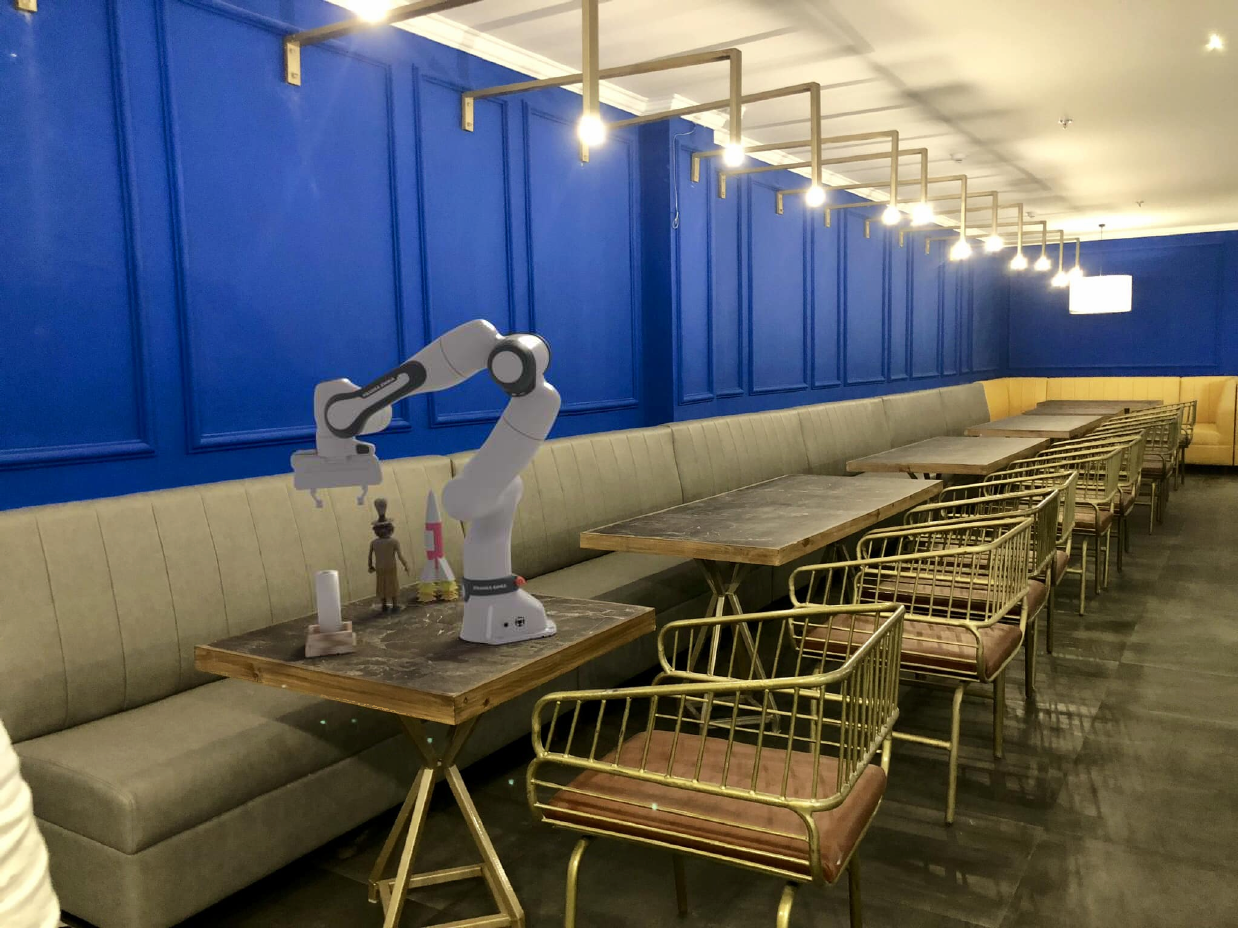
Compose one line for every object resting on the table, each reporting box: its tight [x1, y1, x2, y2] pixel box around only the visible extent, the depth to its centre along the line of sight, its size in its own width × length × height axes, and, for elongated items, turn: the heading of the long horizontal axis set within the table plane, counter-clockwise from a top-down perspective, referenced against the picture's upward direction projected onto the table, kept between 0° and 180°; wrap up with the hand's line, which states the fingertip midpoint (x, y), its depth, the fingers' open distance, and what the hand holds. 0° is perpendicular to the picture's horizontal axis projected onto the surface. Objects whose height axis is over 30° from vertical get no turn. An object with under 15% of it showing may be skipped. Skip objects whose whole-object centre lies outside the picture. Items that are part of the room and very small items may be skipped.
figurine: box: [367, 497, 411, 614], centre depth 258 cm, size 11×9×30 cm
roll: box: [314, 569, 343, 634], centre depth 225 cm, size 5×5×16 cm
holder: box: [304, 620, 358, 658], centre depth 226 cm, size 11×11×4 cm
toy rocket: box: [416, 488, 459, 603], centre depth 271 cm, size 12×12×30 cm
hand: (340, 506), depth 234 cm, fingers open, 8 cm apart
